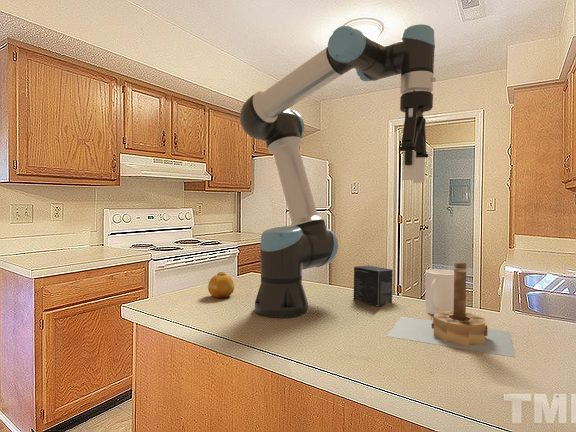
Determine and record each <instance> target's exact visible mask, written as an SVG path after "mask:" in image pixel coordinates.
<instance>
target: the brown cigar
mask: <svg viewBox="0 0 576 432" xmlns="http://www.w3.org/2000/svg"><path fill="white" fill-rule="evenodd" d="M453 264H454V265H453V271H454V314H453V320H459V321H466V313H467V312H466V311H467V309H466V308H467V304H466V303H467V270H468V269H467V262H463V261H461V262H460V261H454V263H453Z"/></svg>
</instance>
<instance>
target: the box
mask: <svg viewBox="0 0 576 432" xmlns="http://www.w3.org/2000/svg"><path fill="white" fill-rule="evenodd" d="M352 297H353V300H356V301H357V302H358V301H359V302H361V303H365V304H368V305H369V304H370V305H371V306H372V305H373V306H377V307H382V306H385V305H386V304H388V303H389V304H390V303H391V304H392V303H393V268H392V269H391V268H385V267H380V266H374V265H369V264H368V265H358V266H354V267H353V296H352Z"/></svg>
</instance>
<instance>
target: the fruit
mask: <svg viewBox="0 0 576 432" xmlns="http://www.w3.org/2000/svg"><path fill="white" fill-rule="evenodd" d="M207 290H208V292H209V294H210V296H212V297H214V298H218V299H223V298H224V297H225V298H228V297H230V296H231V295H232V294H233V293H234V290H235V283H234V280H233V279H232V277H231V276H230V275H228V274H227V273H226V272H224V271H220V272H217V274H216V275H213V276H212V277H211V278H210V280H209V281H208V285H207Z"/></svg>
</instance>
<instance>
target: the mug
mask: <svg viewBox="0 0 576 432" xmlns="http://www.w3.org/2000/svg"><path fill="white" fill-rule="evenodd" d="M424 297H425V300H424V301H425V304H424V305H425V307H424V311H425V312H426V313H428V314H429V315H433V316H434V315H435V313H436V312H443V311H454V270H451V269H442V268H429V269H426V270H425V296H424Z"/></svg>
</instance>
